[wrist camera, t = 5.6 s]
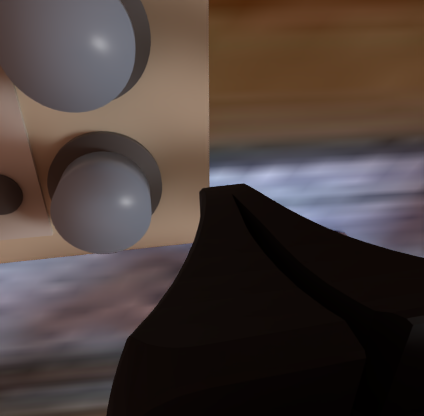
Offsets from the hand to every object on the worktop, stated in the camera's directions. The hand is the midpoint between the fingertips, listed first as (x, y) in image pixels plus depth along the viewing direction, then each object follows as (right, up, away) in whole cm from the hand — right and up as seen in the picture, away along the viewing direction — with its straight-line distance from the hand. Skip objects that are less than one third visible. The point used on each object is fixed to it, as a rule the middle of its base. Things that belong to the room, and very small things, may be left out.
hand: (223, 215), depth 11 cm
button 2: (-5, +1, +6) cm, 8 cm away
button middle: (-5, +6, +2) cm, 8 cm away
